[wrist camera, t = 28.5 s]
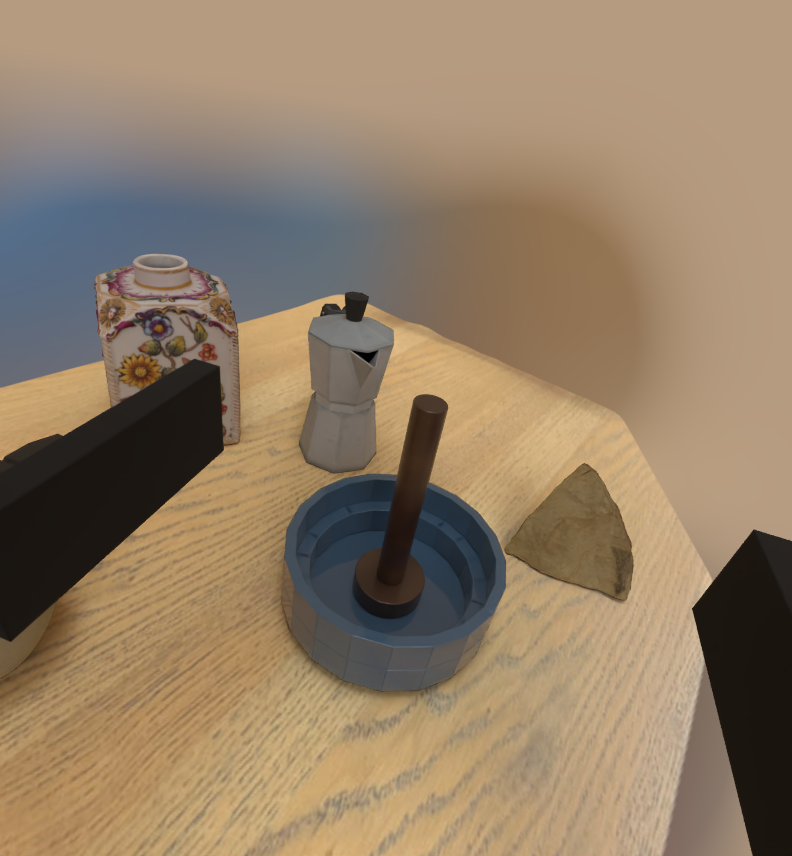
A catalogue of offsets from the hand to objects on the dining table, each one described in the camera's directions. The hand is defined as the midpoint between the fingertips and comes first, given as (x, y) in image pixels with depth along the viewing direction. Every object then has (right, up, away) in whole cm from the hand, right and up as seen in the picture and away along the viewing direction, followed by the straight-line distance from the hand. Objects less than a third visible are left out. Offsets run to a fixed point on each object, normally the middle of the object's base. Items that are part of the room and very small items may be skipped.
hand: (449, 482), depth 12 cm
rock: (+15, -12, +34) cm, 39 cm away
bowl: (-2, -12, +28) cm, 31 cm away
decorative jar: (-26, +2, +43) cm, 50 cm away
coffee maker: (-8, -1, +44) cm, 45 cm away
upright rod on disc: (-2, -12, +28) cm, 30 cm away
